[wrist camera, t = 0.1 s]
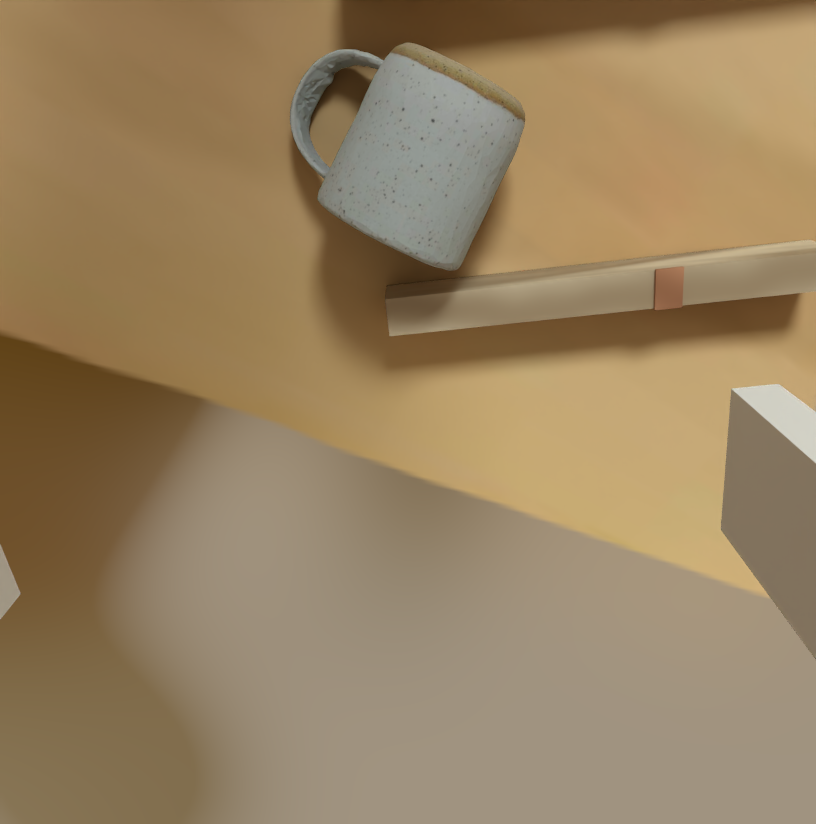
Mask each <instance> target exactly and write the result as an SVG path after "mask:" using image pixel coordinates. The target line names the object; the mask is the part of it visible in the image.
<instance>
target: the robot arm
mask: <svg viewBox="0 0 816 824" xmlns="http://www.w3.org/2000/svg"><path fill="white" fill-rule="evenodd" d="M721 530H722V532H723V533H724V535H725V536H726V537H727V539H728V540H729V541H730V543H731V544H732V546H733V547H734V548H735V550H736V551H737V552H738V554H739V555H740V556H741V558H742V559H743V561H744V562H745V563H746V565H747V566H748V567H749V569H750V570H751V572H752V573H753V574H754V576H755V577H756V578H757V580H758V581H759V583H760V584H761V585H762V587H763V588H764V589H765V591H766V592H767V594H768V595H769V596H770V598H771V599H772V600H773V602H774V603H775V604H776V606H777V607H778V609H779V610H780V611H781V613H782V614H783V615H784V617H785V618H786V619H787V621H788V622H789V624H790V625H791V626H792V628H793V629H794V631H796V633H797V635H798V636H799V637H800V639H801V640H802V641H803V643H804V644H805V646H806V647H807V648H808V650H809V651H810V652H811V653H812V655H813V657H814V658H815V659H816V412H815V411H814V410H812V409H811V408H810V407H808V406H807V405H806V404H804V403H803V402H802V401H801V400H799V399H798V398H797V397H795V396H794V395H793V394H791V393H790V392H789V391H787V390H786V389H785V388H783V387H782V386H781V385H779V384H773V385H763V386H753V387H744V388H734V389H731V400H730V413H729V427H728V440H727V453H726V467H725V480H724V493H723V507H722V520H721ZM20 594H21V593H20V591H19V588H18V586H17V584H16V581H15V579H14V576H13V574H12V571H11V569H10V567H9V564H8V562H7V559H6V557H5V554H4V552H3V550H2V547H1V545H0V619H1V618H2V617H3V616H4V614H5V613H6V612H7V610H8V609H9V608H10V607H11V606H12V604H13V603H14V602H15V601H16V599H17V598H18V597H19V595H20Z"/></svg>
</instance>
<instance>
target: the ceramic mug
mask: <svg viewBox="0 0 816 824" xmlns="http://www.w3.org/2000/svg"><path fill="white" fill-rule="evenodd" d="M353 65H361V66H368V67H371V68H375V69H378V71H377V72H376V74H375V75H374V78H373V80H372V82H371V84H370V86H369V88H368V90H367V92H366V94H365V97H364V99H363V101H362V104H361V106H360V109H359V111H358V113H357V116H356V118H355V120H354V122H353V123H352V125H351V127H350V129H349V131H348V133H347V135H346V137H345V139H344V141H343V143H342V145H341V147H340V149H339V151H338V153H337V155H336V157H335V159H334V161H333V163H332V165H331V167H330V168H329V167H328V166H327V165H326V164H325V163H324V162H323V160H322V159H321V158H320V156H319V155H318V153H317V152H316V150H315V148H314V146H313V144H312V141H311V139H310V134H309V125H310V118H311V116H312V113H313V111H314V109H315V107H316V105H317V103H318V101H319V99H320V97H321V96H322V94H323V92H324V90H325V89H326V87H327V86H328V85H330V84H331V83H332V81H333V77H334V73H336V72H337V71H339V70H340V69H342V68H346V67H350V66H353ZM290 124H291V129H292V133H293V137H294V140H295V143H296V144H297V146H298V150H299V151H300V153H301V154H302V155H303V157H304V158H305V159H306V161H307V162H308V164H309V165H310V166H311V167H312V168H313V169H314V170H315V171H316V172H317V173H318V174H319V175H320V176H322V177H323V178H324V181H323V183H322V185H321V187H320V190H319V193H318V198H317V199H318V201H319V203H320V204H321V205H322V206H323V207H324V208H325V209H327V210H328V211H329V212H331V213H332V214H333V215H335V216H336V217H338V218H339V219H341V220H342V221H344V222H346V223H347V224H349V225H350V226H352V227H353V228H355V229H357V230H359V231H361V232H362V233H364V234H366V235H367V236H369V237H372V238H373V239H375V240H377V241H379V242H381V243H383V244H385V245H387V246H389V247H392V248H393V249H395V250H397V251H400V252H402V253H404V254H406V255H408V256H410V257H412V258H414V259H417V260H419V261H421V262H423V263H425V264H428V265H431V266H433V267H437V268H442V269H445V270H448V271H451V270H457V269H458V268H459V267H460V266H461V264H462V262H463V260H464V258H465V256H466V254H467V252H468V250H469V247H470V245H471V243H472V241H473V239H474V237H475V235H476V233H477V231H478V229H479V227H480V225H481V223H482V221H483V219H484V217H485V215H486V213H487V211H488V208H489V206H490V204H491V202H492V200H493V198H494V195H495V193H496V191H497V188H498V186H499V184H500V183H501V181H502V179H503V177H504V175H505V173H506V171H507V169H508V167H509V165H510V163H511V161H512V159H513V157H514V155H515V152H516V150H517V147H518V144H519V140H520V137H521V134H522V131H523V129H524V124H525V113H524V110H523V108H522V105H521V103H520V102H519V101H518V100H517V99H516V98H515V97H513V96H512V95H510V94H509V93H508V92H506V91H505V90H504V89H502V88H501V87H499V86H498V85H496V84H495V83H493V82H491V81H490V80H488V79H486V78H484V77H483V76H481V75H479V74H478V73H476V72H475V71H473V70H471V69H469V68H468V67H466V66H464V65H462V64H460V63H458V62H456V61H454V60H452V59H450V58H448V57H445V56H443V55H441V54H439V53H437V52H435V51H433V50H430V49H428V48H426V47H423V46H420V45H417V44H414V43H409V42H408V43H403V44H401V45H398V46H396V47H394V49H393V50H392V51H391V52H390V53H389V54H388V56H387V57H386V58H385V60H382V59H380V58H378V57H376V56H374V55H372V54H370V53H368V52H362V51H359V50H353V49H341V50H336V51H334V52H331V53H329V54H327V55H325V56H323V57H322V58H320V59H319V60H317V61H316V62H315V63H314V64H313V65H312V66H311V67H310V68H309V70H308V71H307V72H306V73H305V75H304V76H303V78H302V79H301V81H300V83H299V85H298V87H297V90H296V92H295V95H294V97H293V100H292V104H291V110H290Z"/></svg>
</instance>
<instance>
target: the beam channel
mask: <svg viewBox="0 0 816 824" xmlns="http://www.w3.org/2000/svg"><path fill="white" fill-rule="evenodd" d="M815 291H816V242H815V241H812V240H802V241H793V242H784V243H774V244H765V245H756V246H747V247H738V248H729V249H719V250H710V251H701V252H692V253H683V254H674V255H664V256H655V257H646V258H637V259H628V260H619V261H609V262H600V263H591V264H582V265H573V266H564V267H554V268H545V269H536V270H527V271H518V272H508V273H499V274H490V275H481V276H472V277H463V278H453V279H444V280H435V281H426V282H417V283H408V284H398V285H389V286H387V288H386V295H385V304H386V312H387V320H388V328H389V336H398V335H407V334H417V333H426V332H436V331H445V330H455V329H464V328H474V327H483V326H493V325H502V324H512V323H521V322H531V321H540V320H550V319H559V318H569V317H578V316H588V315H597V314H607V313H616V312H625V311H635V310H644V309H654V310H663V309H673V308H682V305H692V304H701V303H711V302H720V301H730V300H739V299H749V298H758V297H768V296H777V295H787V294H796V293H806V292H815Z"/></svg>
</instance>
